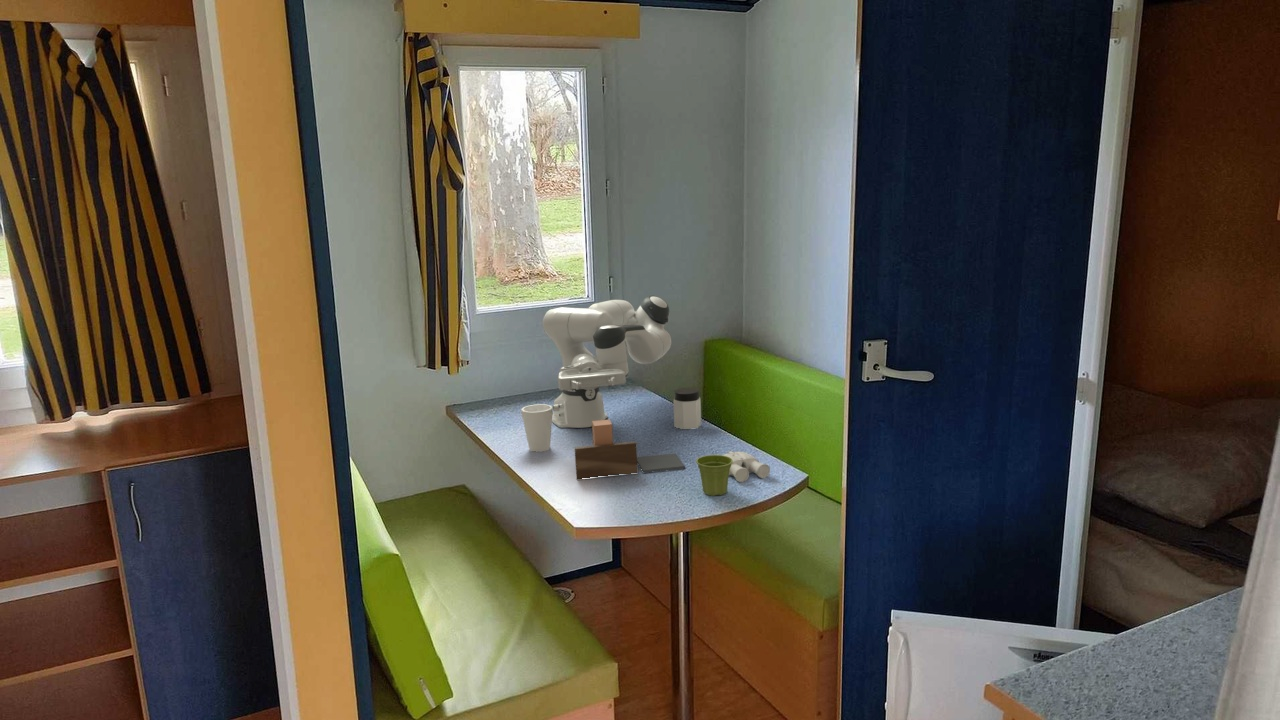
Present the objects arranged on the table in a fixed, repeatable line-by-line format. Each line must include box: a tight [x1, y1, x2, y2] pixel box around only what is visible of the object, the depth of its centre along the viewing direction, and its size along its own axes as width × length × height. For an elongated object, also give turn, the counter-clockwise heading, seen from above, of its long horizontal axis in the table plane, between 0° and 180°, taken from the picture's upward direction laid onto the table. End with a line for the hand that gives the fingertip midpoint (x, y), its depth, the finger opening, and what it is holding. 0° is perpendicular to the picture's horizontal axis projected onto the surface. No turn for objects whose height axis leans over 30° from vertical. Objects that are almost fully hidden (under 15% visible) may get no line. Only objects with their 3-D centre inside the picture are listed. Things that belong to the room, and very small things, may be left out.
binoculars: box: [721, 450, 771, 483], centre depth 248 cm, size 10×16×5 cm, turn 21°
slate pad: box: [637, 452, 686, 473], centre depth 257 cm, size 12×12×1 cm
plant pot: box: [696, 454, 733, 496], centre depth 232 cm, size 9×9×9 cm
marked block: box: [591, 419, 614, 446], centre depth 252 cm, size 5×5×14 cm
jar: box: [672, 387, 702, 430], centre depth 291 cm, size 9×8×12 cm
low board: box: [574, 441, 639, 480], centre depth 248 cm, size 2×17×9 cm, turn 100°
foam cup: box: [520, 403, 554, 453], centre depth 275 cm, size 10×9×13 cm
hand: (595, 385), depth 261 cm, fingers open, 8 cm apart
